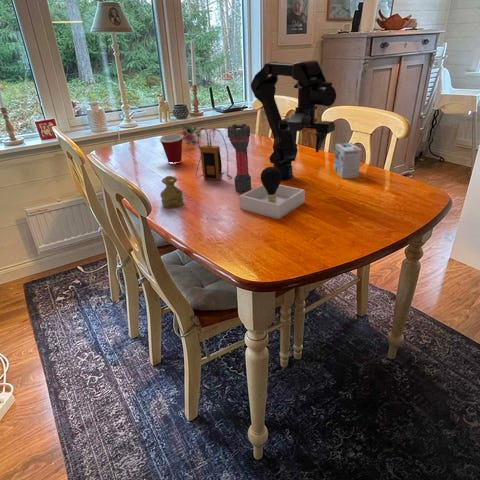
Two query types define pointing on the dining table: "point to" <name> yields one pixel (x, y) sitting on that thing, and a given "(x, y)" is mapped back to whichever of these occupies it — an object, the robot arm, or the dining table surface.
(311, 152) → the dining table surface
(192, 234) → the dining table surface
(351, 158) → the light bulb box
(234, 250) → the dining table surface
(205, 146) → the multimeter
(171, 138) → the plastic cup
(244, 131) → the flashlight
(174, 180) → the brown money bag
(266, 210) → the parts tray
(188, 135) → the flower vase
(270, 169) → the light bulb
